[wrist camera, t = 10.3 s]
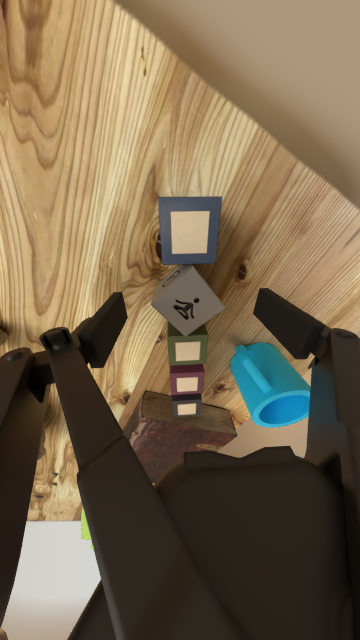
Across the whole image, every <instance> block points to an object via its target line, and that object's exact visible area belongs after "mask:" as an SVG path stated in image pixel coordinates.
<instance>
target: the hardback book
mask: <svg viewBox="0 0 360 640" xmlns="http://www.w3.org/2000/svg"><path fill="white" fill-rule="evenodd" d="M123 433H124V434H125V435H126V437H127V439H128V440H129V442H130V444H131V446H132V448H133V450H134V451H135V453H136V455H137V457H138V459H139V461H140V462H141V464H142V466H143V468H144V470H145V471H146V473H147V475H148V477H149V479H150V481H151V482H152V483H156V482H157V480H158V479H159V478H160V477H161V475H162V474H163V473H164V472H165V471H166V470H167V469H169V468H170V467H171V466H173V465H174V464H176V463H177V462H180V461H182V460H183V452H196V451H213V452H217V451H219V450H220V449H221V448H223V447H224V446H225V445H226V444H228V443H229V442H230V441H232V440H233V439H234V438H235V437H237V433H236V430H235V427H234V424H233V421H232V418H231V415H230V412H229V411H228V410H224V409H220V408H216V407H212V406H207V405H203V404H201V413H200V416H186V417H173V411H172V397H170V396H166V395H162V394H158V393H154V392H150V391H145V393H144V394H143V396H142V398H141V400H140V402H139V404H138V405H137V407H136V409H135V411H134V413H133V415H132V416H131V418H130V420H129V422H128V424H127V426H126V427H125V429H124V431H123Z"/></svg>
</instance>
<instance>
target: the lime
mask: <svg viewBox="0 0 360 640" xmlns="http://www.w3.org/2000/svg"><path fill="white" fill-rule="evenodd" d="M7 337H8V335H7V334H6V333H5V332H4V331H3V330H2V329H0V345H1V344H3V343H4V342H5V341H6V339H7Z"/></svg>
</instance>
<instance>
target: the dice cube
mask: <svg viewBox="0 0 360 640" xmlns="http://www.w3.org/2000/svg"><path fill="white" fill-rule="evenodd" d="M151 305H152V306H153V307H154V308H155V309H156V310H157V311H158V312H159V313H160V314H161V315H162V316H164V317H165V318H166V319H167V320H168V321H169V322H170V323H171V324H172V325H173V326H174V327H175V328H177V329H178V330H179V331H180V332H181V333H182V334H183V335H184V336H185V337H186V336H187V335H188V334H190V333H191V332H193V331H194V330H195V329H197V328H198V327H200V326H201V325H202V324H204V323H205V322H207V321H208V320H209V319H211V318H212V317H214V316H215V315H216V314H218V313H219V312H221V311H222V310H223V309H225V307H224V305H223V304H222V302H221V301H220V299H219V298H218V296H217V295H216V294H215V292H214V291H213V289H212V288H211V287H210V285H209V284H208V283H207V282H206V280H205V279H204V278H203V277H202V275H201V274H200V273H199V271H198V270H197V269H196V268H195V266H194V265H193V264H180V265H178V266H177V267H176V268H175V269H174V270H173V271H172V272H171V273H170V274H169V275H167V276H166V277H165V278H164V279H163V280H162V281H161V282H160V283H159V284H158V285H156V286H155V289H154V293H153V298H152V302H151Z"/></svg>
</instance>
